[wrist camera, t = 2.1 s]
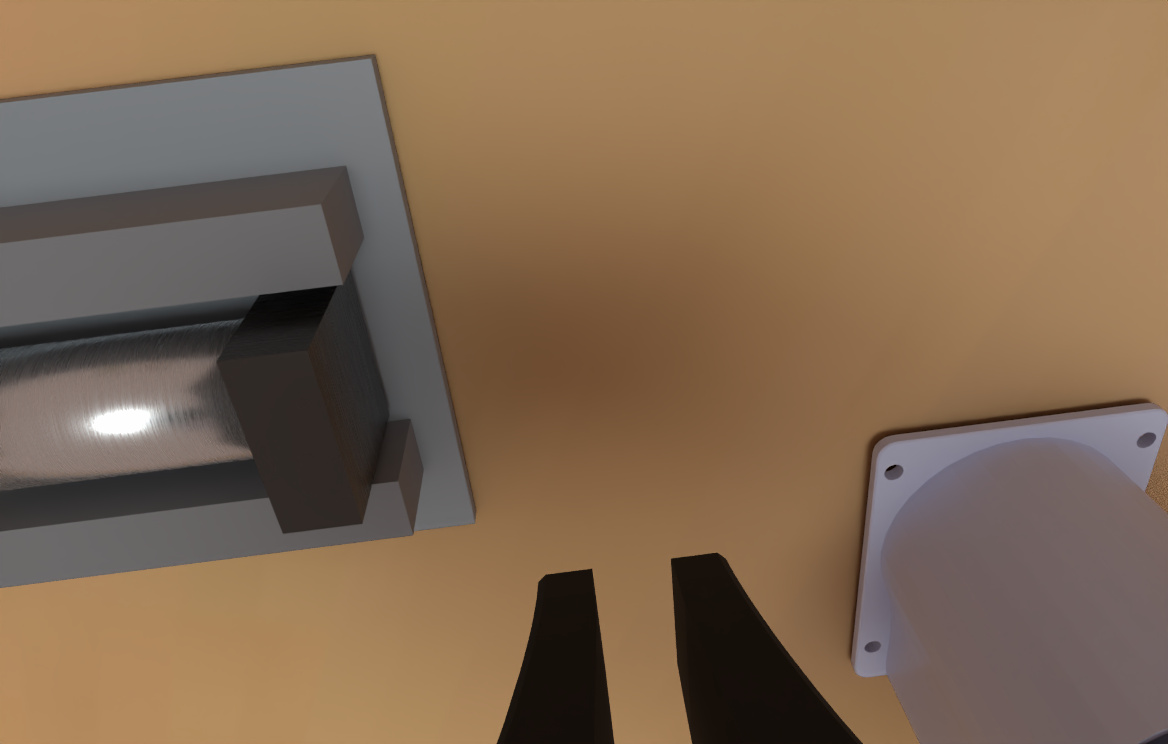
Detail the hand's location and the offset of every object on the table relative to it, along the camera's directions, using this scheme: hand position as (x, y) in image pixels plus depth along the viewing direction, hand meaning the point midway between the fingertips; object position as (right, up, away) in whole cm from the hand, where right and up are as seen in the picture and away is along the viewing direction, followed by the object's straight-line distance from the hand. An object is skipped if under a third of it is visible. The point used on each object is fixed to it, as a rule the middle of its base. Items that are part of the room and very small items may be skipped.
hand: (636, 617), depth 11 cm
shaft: (-10, +3, +8) cm, 13 cm away
